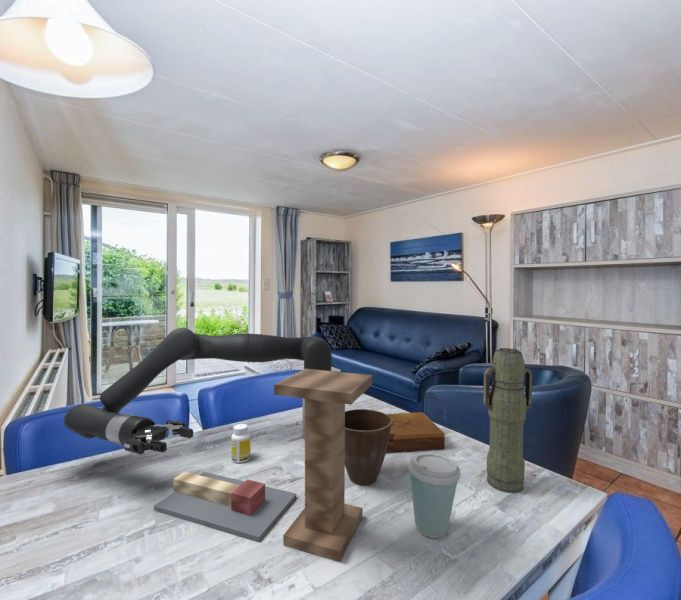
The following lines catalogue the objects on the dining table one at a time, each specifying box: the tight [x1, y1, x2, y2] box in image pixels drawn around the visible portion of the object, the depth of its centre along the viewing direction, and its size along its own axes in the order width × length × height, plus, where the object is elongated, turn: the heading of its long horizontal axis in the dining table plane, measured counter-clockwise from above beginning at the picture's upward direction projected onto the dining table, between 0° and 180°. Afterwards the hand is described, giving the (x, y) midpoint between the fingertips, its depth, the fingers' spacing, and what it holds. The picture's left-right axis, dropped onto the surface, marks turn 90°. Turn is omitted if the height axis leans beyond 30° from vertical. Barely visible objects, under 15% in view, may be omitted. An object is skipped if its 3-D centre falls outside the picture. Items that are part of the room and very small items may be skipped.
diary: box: [386, 411, 446, 454], centre depth 121 cm, size 23×19×6 cm
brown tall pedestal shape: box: [273, 368, 373, 563], centre depth 75 cm, size 16×14×32 cm
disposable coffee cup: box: [407, 452, 461, 539], centre depth 76 cm, size 11×11×15 cm
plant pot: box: [345, 408, 392, 486], centre depth 96 cm, size 15×15×16 cm
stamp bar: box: [172, 471, 266, 516], centre depth 86 cm, size 23×6×4 cm, turn 69°
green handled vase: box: [482, 347, 533, 494], centre depth 93 cm, size 9×12×35 cm
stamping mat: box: [153, 471, 297, 543], centre depth 85 cm, size 28×16×1 cm, turn 69°
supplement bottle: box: [230, 423, 251, 464], centre depth 106 cm, size 5×5×10 cm
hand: (179, 440), depth 89 cm, fingers open, 8 cm apart
